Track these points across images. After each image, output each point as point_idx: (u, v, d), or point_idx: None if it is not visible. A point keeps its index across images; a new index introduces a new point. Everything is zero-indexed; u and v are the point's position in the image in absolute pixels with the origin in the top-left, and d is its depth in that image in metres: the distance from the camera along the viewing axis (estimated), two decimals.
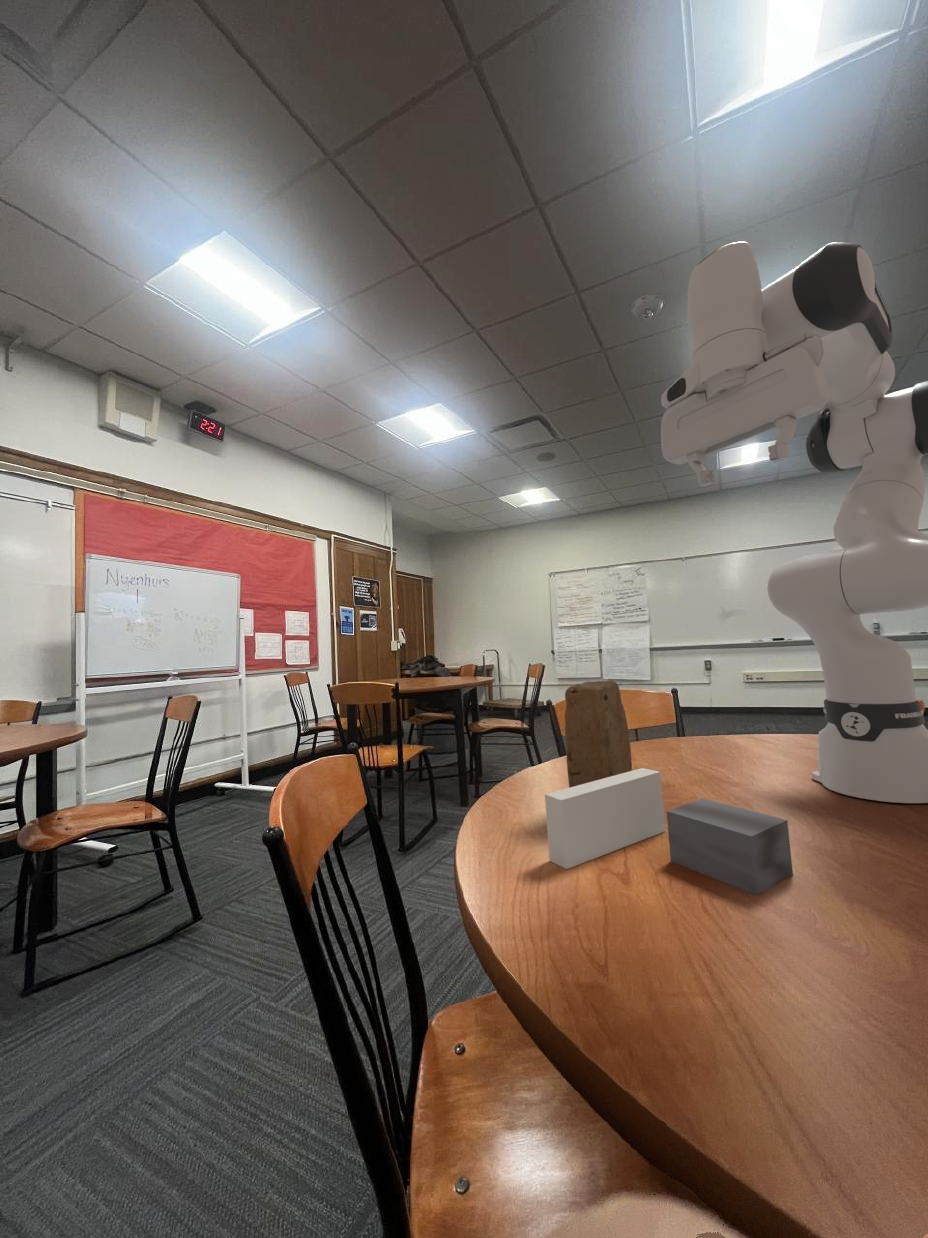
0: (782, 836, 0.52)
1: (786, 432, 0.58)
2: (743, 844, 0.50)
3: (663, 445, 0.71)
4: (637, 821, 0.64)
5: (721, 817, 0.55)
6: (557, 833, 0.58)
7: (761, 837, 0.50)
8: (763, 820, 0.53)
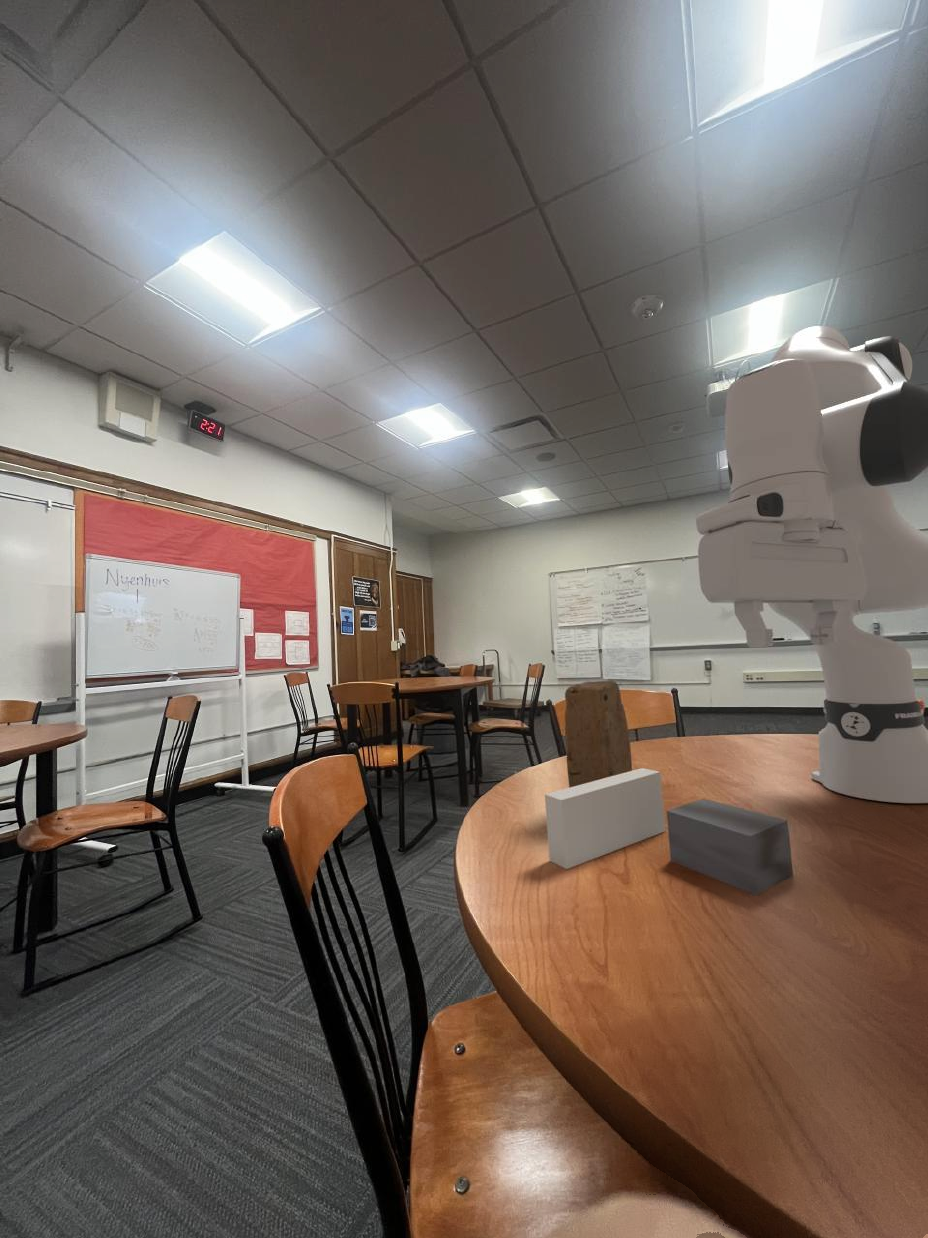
0: (782, 837, 0.52)
1: None
2: (741, 844, 0.50)
3: (737, 572, 0.45)
4: (637, 821, 0.64)
5: (721, 817, 0.55)
6: (557, 833, 0.58)
7: (760, 837, 0.50)
8: (763, 820, 0.53)
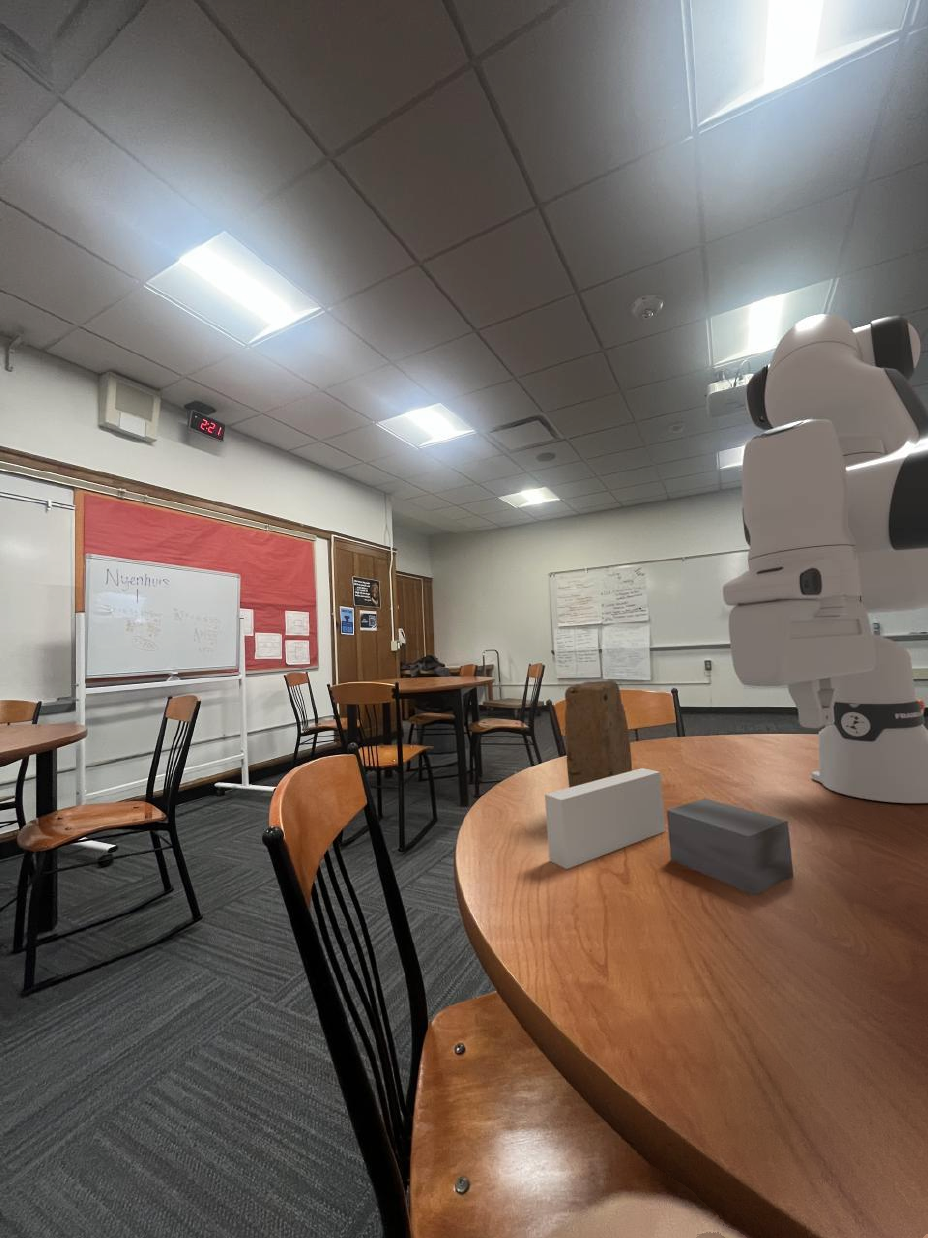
0: (781, 837, 0.52)
1: None
2: (740, 844, 0.50)
3: (781, 657, 0.41)
4: (637, 821, 0.64)
5: (721, 817, 0.55)
6: (557, 833, 0.58)
7: (759, 837, 0.50)
8: (763, 821, 0.53)
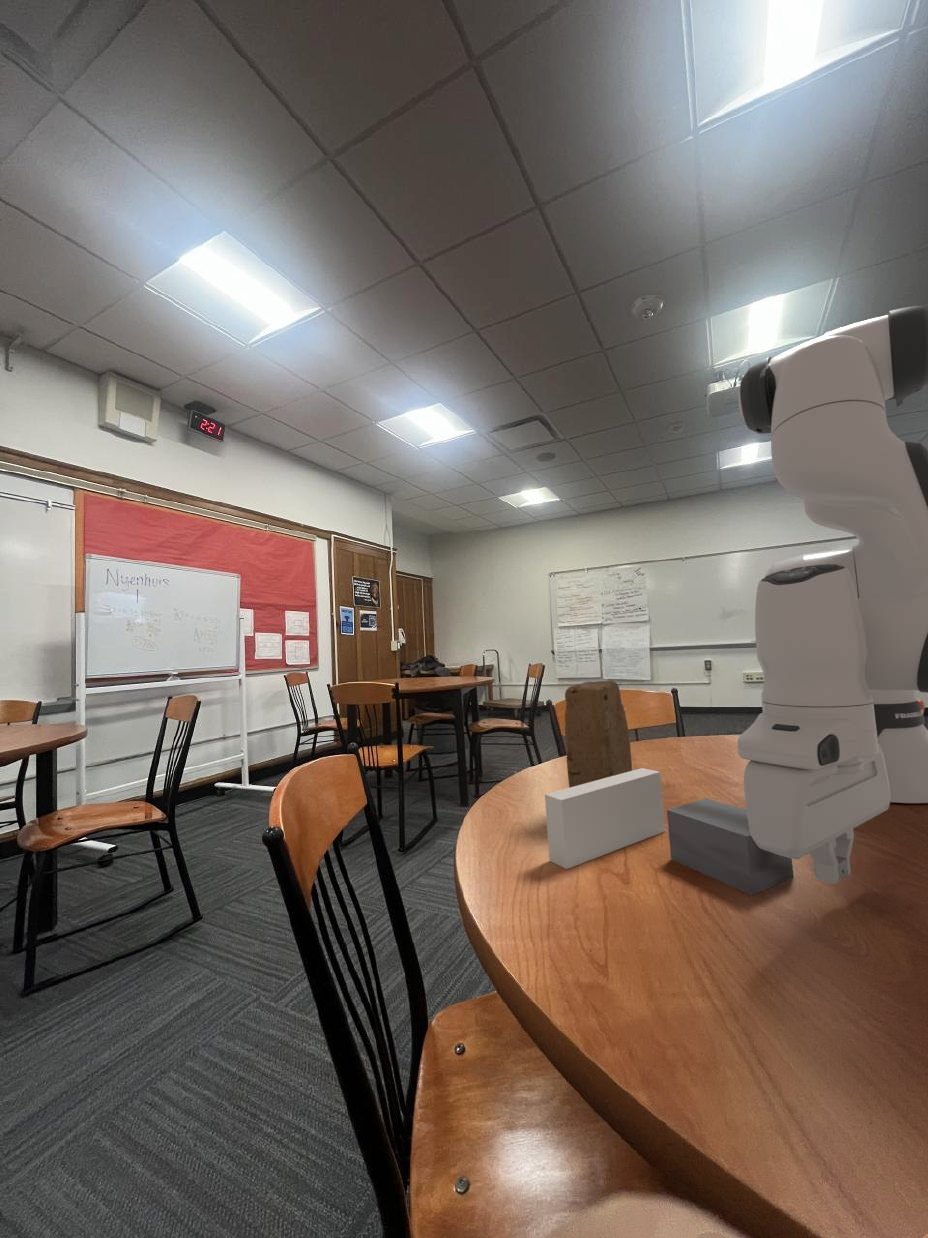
0: None
1: None
2: (738, 844, 0.50)
3: (799, 833, 0.40)
4: (637, 821, 0.64)
5: (721, 817, 0.55)
6: (557, 833, 0.58)
7: None
8: None
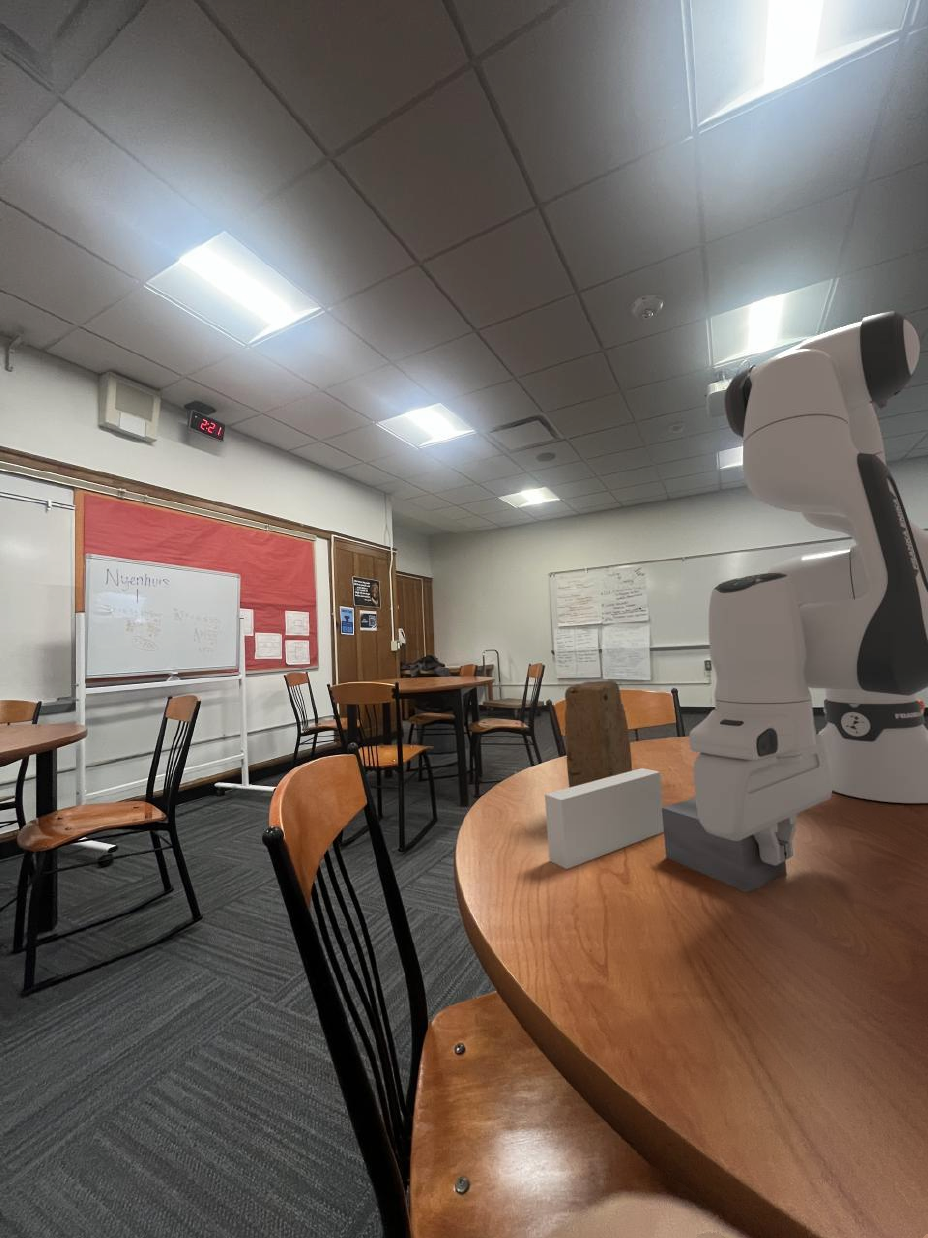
0: None
1: None
2: (733, 841, 0.51)
3: (739, 817, 0.44)
4: (637, 821, 0.64)
5: None
6: (557, 833, 0.58)
7: None
8: None
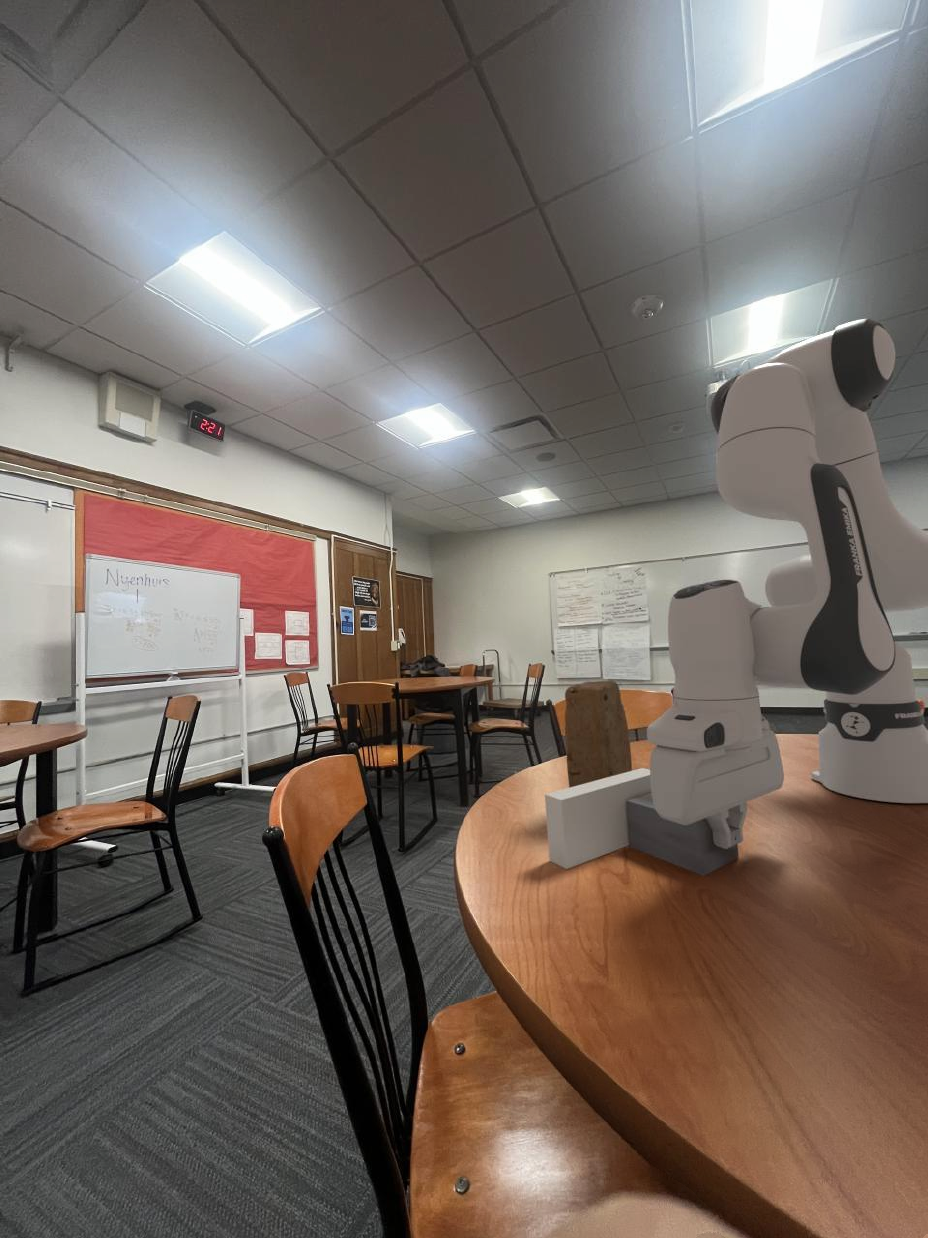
0: None
1: None
2: (691, 829, 0.55)
3: (688, 803, 0.49)
4: None
5: None
6: (557, 833, 0.58)
7: None
8: None
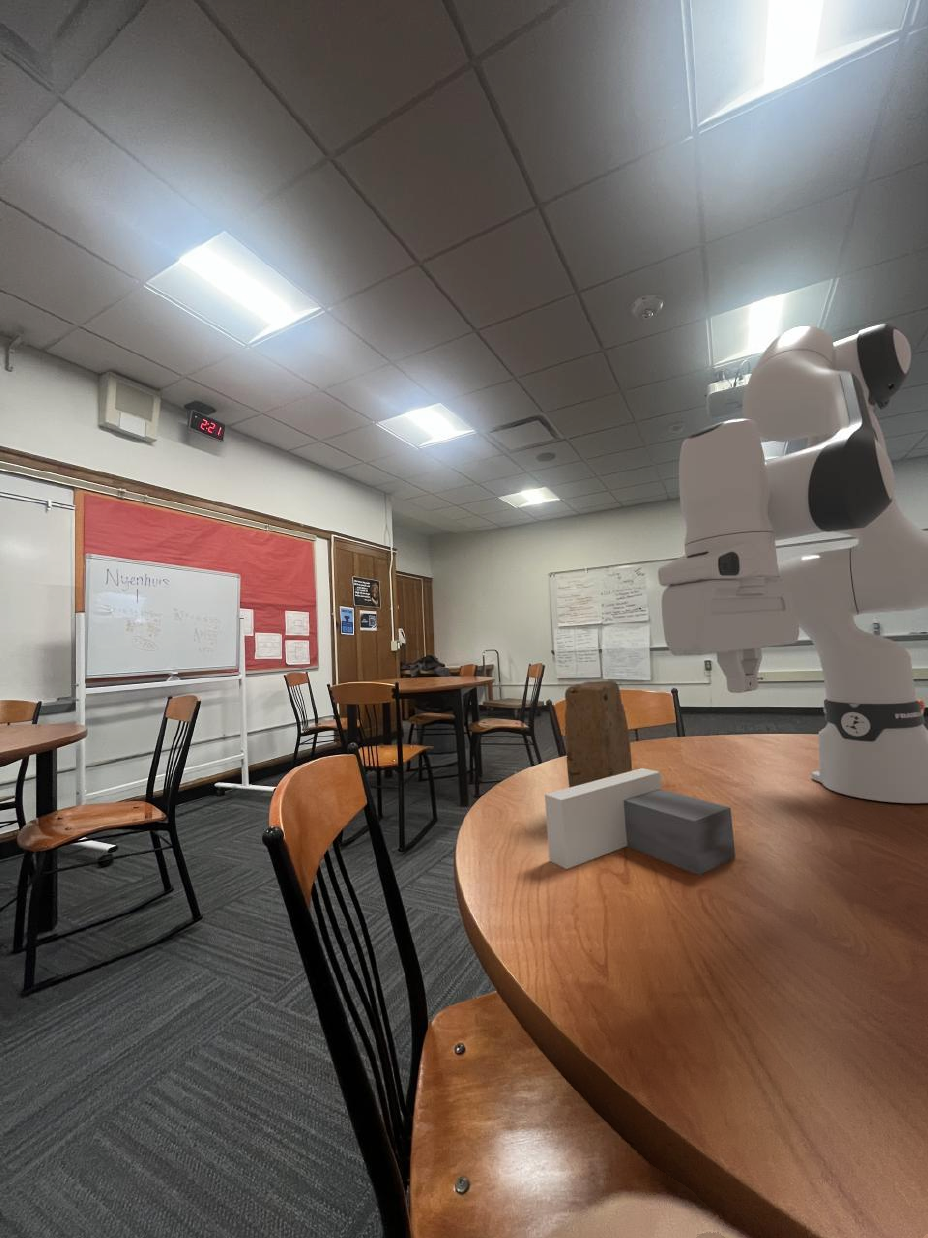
0: (724, 822, 0.57)
1: None
2: (687, 829, 0.55)
3: (702, 630, 0.47)
4: None
5: (672, 805, 0.60)
6: (557, 833, 0.58)
7: (704, 822, 0.55)
8: (708, 807, 0.58)
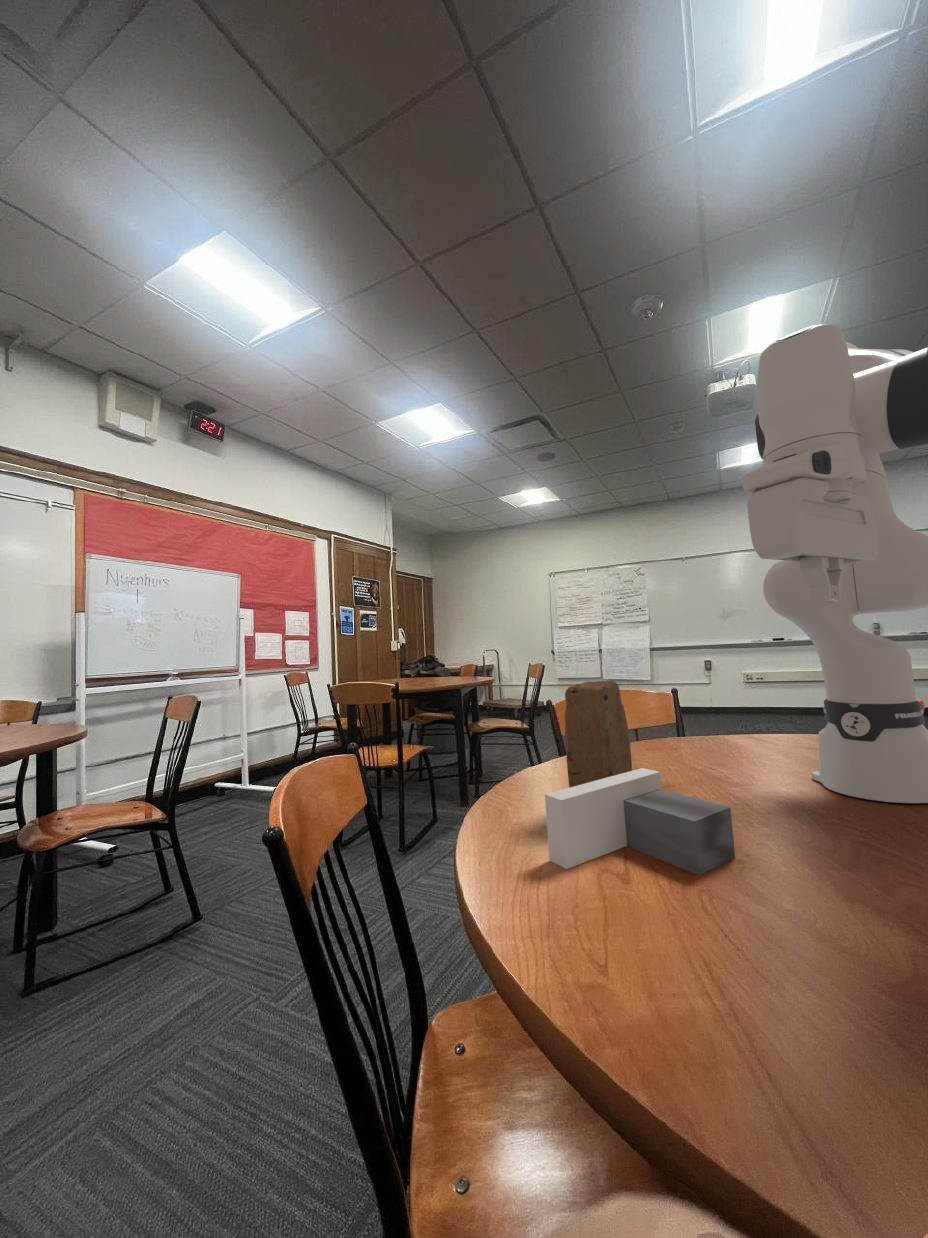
0: (724, 822, 0.57)
1: None
2: (687, 829, 0.55)
3: (796, 526, 0.46)
4: None
5: (672, 805, 0.60)
6: (557, 833, 0.58)
7: (704, 822, 0.55)
8: (708, 807, 0.58)
